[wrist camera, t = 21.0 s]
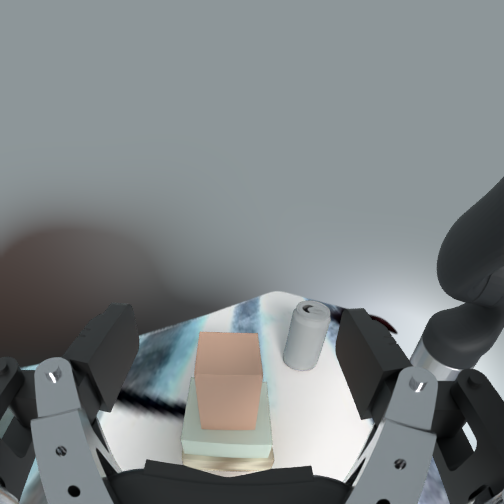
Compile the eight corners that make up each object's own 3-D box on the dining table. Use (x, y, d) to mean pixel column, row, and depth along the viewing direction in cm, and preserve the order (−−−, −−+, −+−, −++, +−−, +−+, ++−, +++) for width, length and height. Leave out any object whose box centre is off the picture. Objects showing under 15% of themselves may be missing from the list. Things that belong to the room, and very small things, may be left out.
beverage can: (290, 346, 52) (301, 294, 47) (320, 356, 49) (336, 305, 45) (277, 365, 47) (288, 312, 42) (310, 378, 44) (327, 325, 39)
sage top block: (263, 399, 35) (266, 381, 34) (267, 458, 26) (272, 444, 25) (192, 394, 35) (191, 377, 33) (184, 453, 26) (180, 439, 24)
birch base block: (262, 410, 38) (265, 396, 36) (269, 471, 27) (274, 460, 26) (190, 408, 36) (188, 393, 35) (185, 469, 26) (181, 458, 25)
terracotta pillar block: (251, 391, 32) (257, 333, 28) (255, 429, 26) (263, 375, 23) (204, 390, 31) (199, 331, 28) (201, 428, 26) (194, 373, 22)
